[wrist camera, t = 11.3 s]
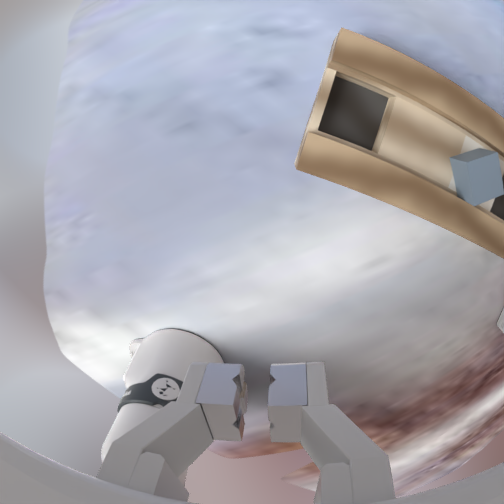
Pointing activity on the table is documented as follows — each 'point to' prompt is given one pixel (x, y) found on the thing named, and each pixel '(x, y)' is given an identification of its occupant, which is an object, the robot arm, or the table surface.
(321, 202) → the table surface
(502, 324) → the ink box
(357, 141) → the trap lane
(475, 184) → the slate block
